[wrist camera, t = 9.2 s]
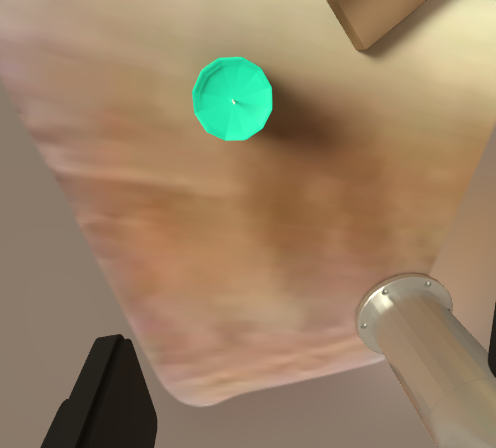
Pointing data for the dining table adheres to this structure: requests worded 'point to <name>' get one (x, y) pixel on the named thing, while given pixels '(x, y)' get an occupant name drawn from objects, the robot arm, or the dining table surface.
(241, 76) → the candle
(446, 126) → the dining table surface
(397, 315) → the robot arm
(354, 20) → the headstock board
